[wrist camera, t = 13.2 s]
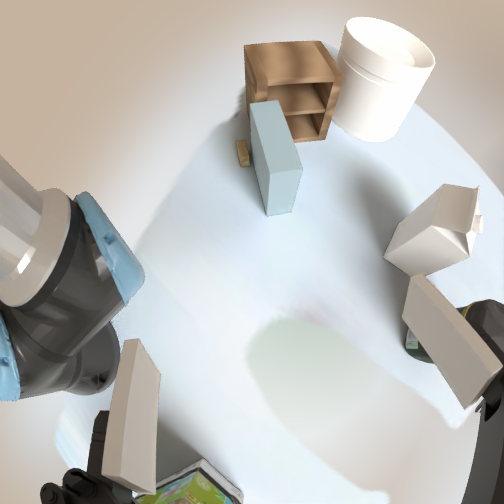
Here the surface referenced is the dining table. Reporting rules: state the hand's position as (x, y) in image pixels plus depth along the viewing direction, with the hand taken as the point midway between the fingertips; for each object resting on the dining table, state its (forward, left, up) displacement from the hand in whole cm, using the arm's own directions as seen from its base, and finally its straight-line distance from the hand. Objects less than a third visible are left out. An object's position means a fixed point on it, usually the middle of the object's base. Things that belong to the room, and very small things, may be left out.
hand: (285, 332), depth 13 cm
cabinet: (+10, +34, -28) cm, 45 cm away
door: (+6, +23, -29) cm, 37 cm away
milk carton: (+26, +7, -29) cm, 39 cm away
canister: (+29, +37, -29) cm, 55 cm away
